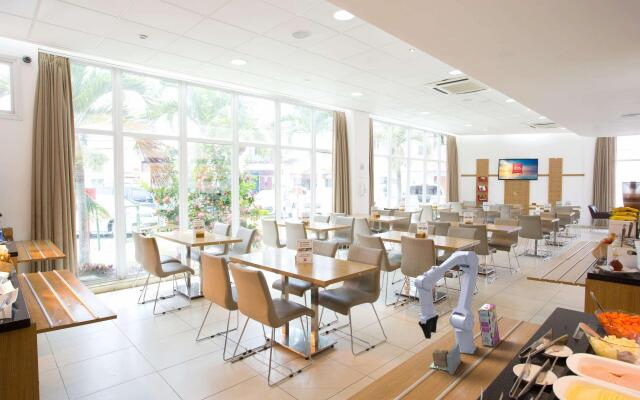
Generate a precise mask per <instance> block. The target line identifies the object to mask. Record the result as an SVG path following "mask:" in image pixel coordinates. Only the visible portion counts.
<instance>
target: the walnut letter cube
mask: <svg viewBox="0 0 640 400" xmlns="http://www.w3.org/2000/svg"><path fill="white" fill-rule="evenodd" d="M448 353H449V350H448V349H439V348H438V349H437V348H436V349H434V351H433V352H432V360H433V361H432V362H434V366H439V367H447V366H448V364H447V355H448Z"/></svg>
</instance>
